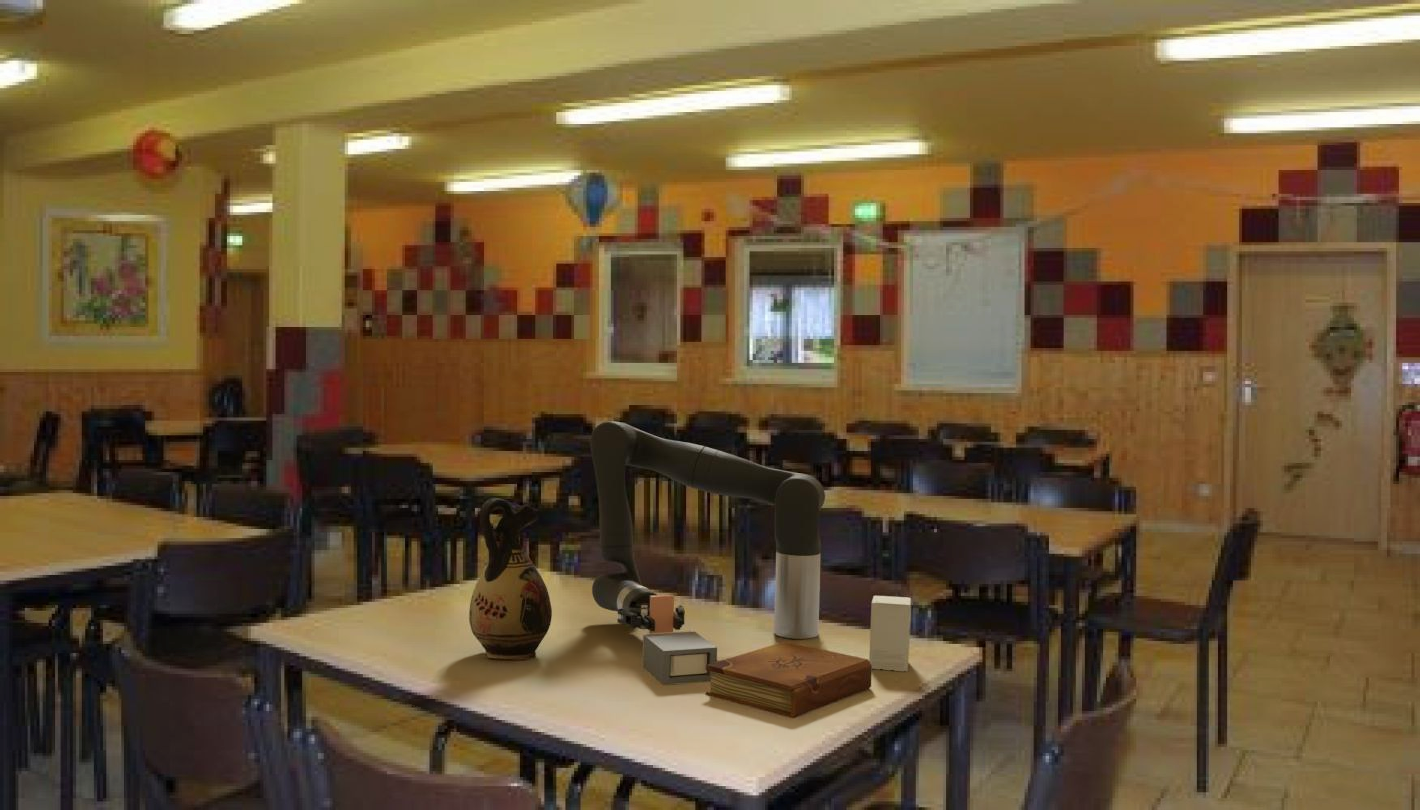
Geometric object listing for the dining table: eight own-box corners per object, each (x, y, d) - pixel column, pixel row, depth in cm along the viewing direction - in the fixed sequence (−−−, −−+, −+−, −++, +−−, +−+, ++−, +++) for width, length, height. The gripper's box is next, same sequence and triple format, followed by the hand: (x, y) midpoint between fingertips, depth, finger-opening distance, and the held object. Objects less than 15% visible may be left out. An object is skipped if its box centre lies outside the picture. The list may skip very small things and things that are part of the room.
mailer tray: (682, 654, 223) (684, 594, 222) (712, 677, 207) (714, 613, 207) (636, 657, 220) (637, 596, 219) (663, 681, 204) (665, 616, 204)
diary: (794, 722, 187) (795, 687, 186) (705, 698, 198) (706, 665, 198) (871, 691, 204) (871, 659, 204) (784, 671, 216) (785, 640, 216)
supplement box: (908, 672, 216) (910, 605, 215) (868, 669, 217) (870, 602, 217) (909, 662, 223) (911, 596, 222) (870, 659, 224) (872, 594, 224)
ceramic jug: (519, 640, 232) (522, 490, 230) (567, 656, 221) (570, 499, 219) (445, 654, 220) (447, 496, 218) (491, 672, 209) (494, 505, 208)
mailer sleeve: (693, 663, 218) (694, 631, 218) (716, 680, 207) (717, 647, 206) (642, 667, 215) (643, 634, 214) (662, 685, 203) (663, 651, 203)
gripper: (605, 589, 231) (630, 607, 215) (673, 585, 236) (702, 603, 220) (604, 626, 232) (629, 647, 216) (672, 622, 237) (701, 642, 220)
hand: (666, 625), depth 218 cm, fingers closed on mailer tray, 4 cm apart
